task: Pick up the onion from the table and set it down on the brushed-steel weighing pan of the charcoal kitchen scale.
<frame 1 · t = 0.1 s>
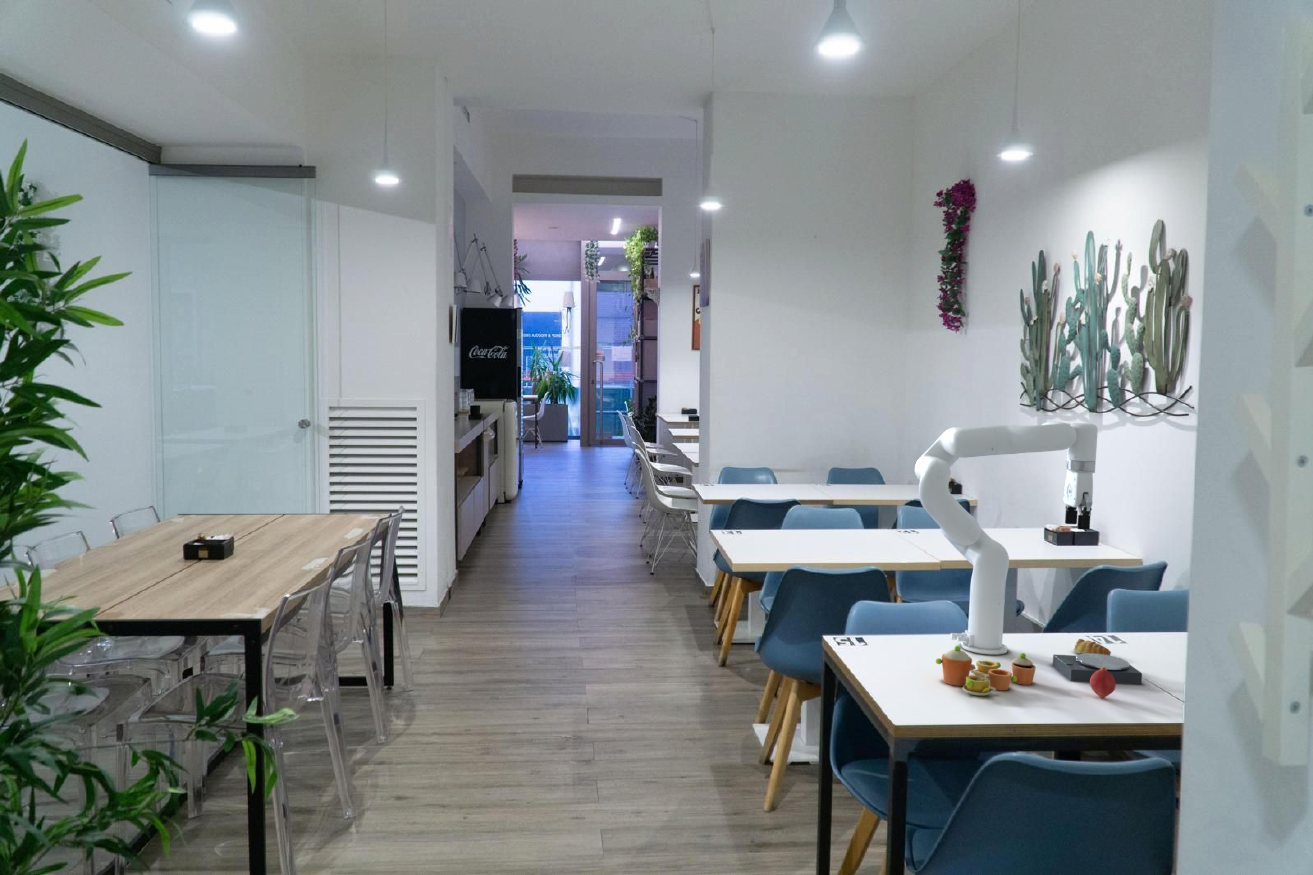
hand: (1077, 526, 282), 37 cm above the table, tool pointing down, fingers open, 9 cm apart
pastry: (1090, 655, 284), on the table
onion: (1101, 698, 245), on the table
scale pan: (1102, 661, 264), point 4 cm above the table, slide at 0.0 cm
toy tea set: (987, 684, 254), on the table
scale: (1095, 674, 265), on the table
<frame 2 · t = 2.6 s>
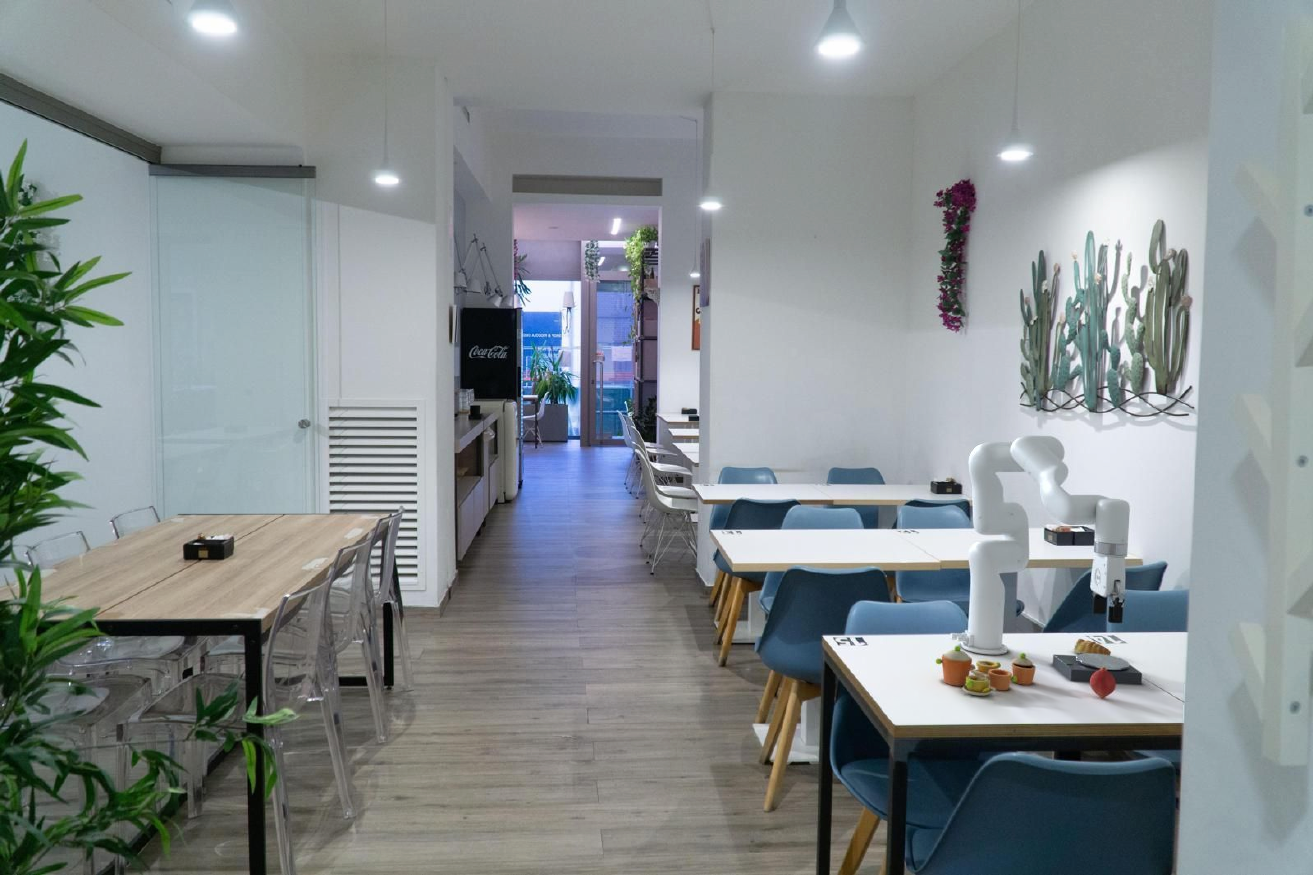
hand: (1106, 618, 245), 20 cm above the table, tool pointing down, fingers open, 9 cm apart
nothing on the table moved.
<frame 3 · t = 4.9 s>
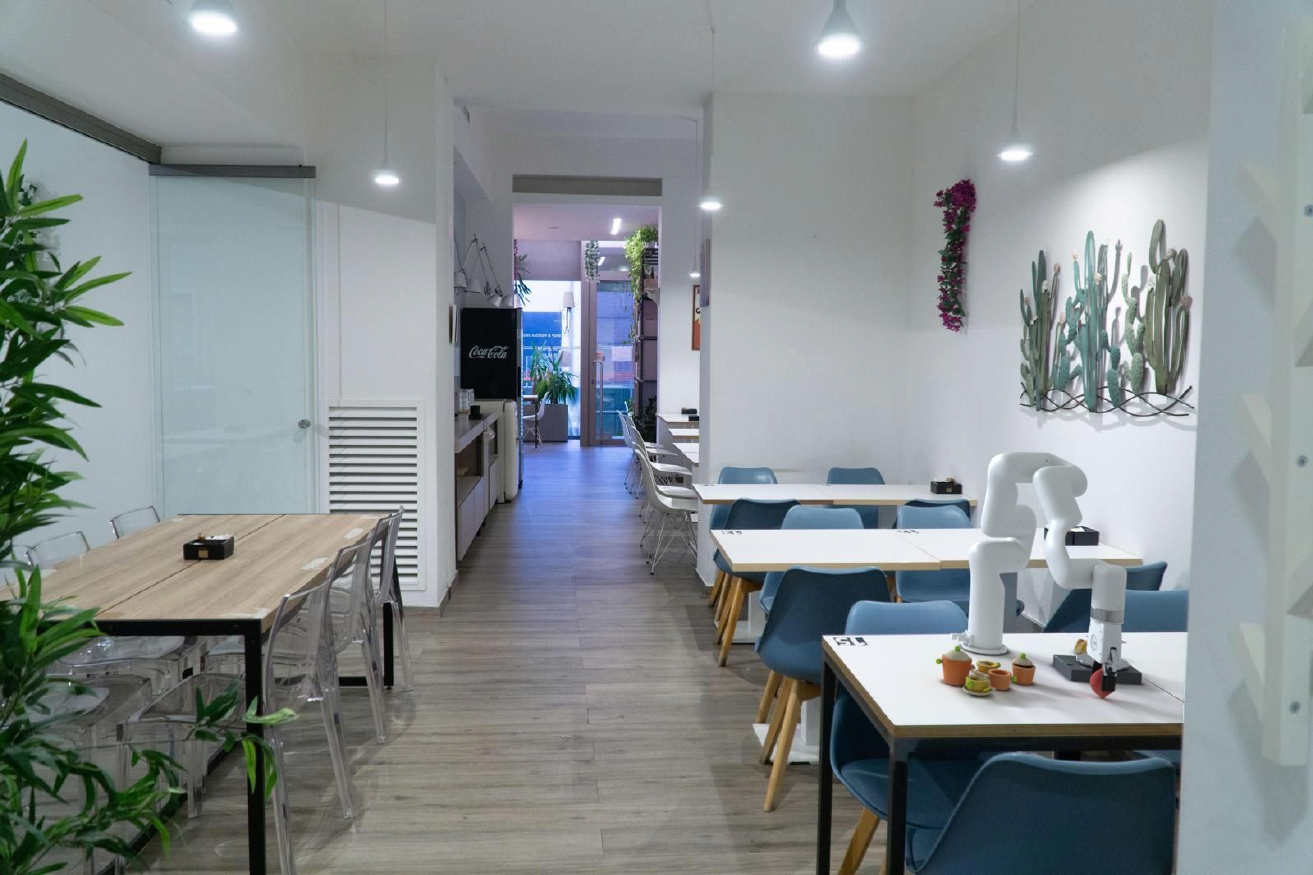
hand: (1102, 686, 245), 3 cm above the table, tool pointing down, fingers closed on onion, 6 cm apart
onion: (1101, 698, 245), on the table, touching gripper
everything else where it was.
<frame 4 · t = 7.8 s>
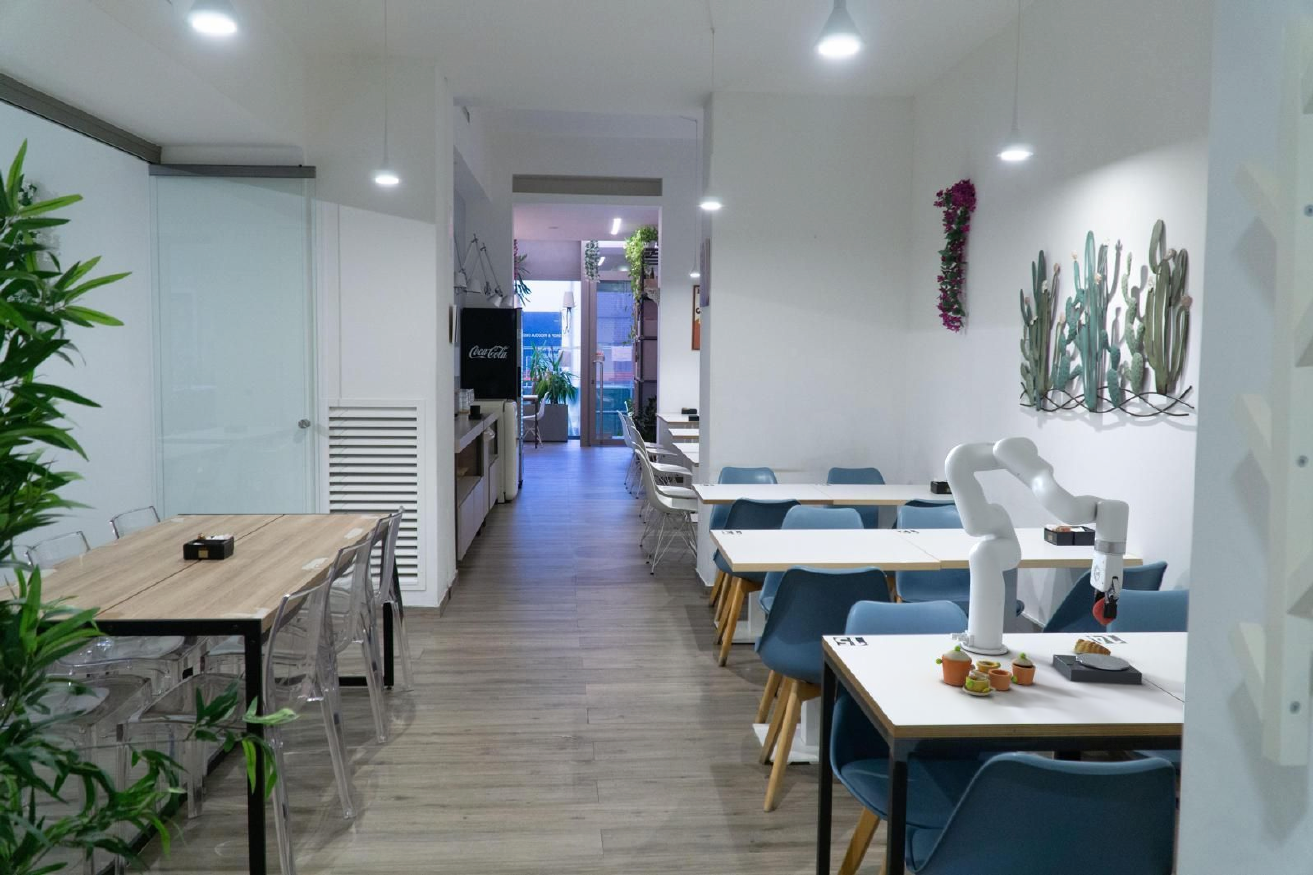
hand: (1104, 614, 260), 17 cm above the table, tool pointing down, fingers closed on onion, 6 cm apart
onion: (1103, 626, 260), point 14 cm above the table, touching gripper
everything else where it was.
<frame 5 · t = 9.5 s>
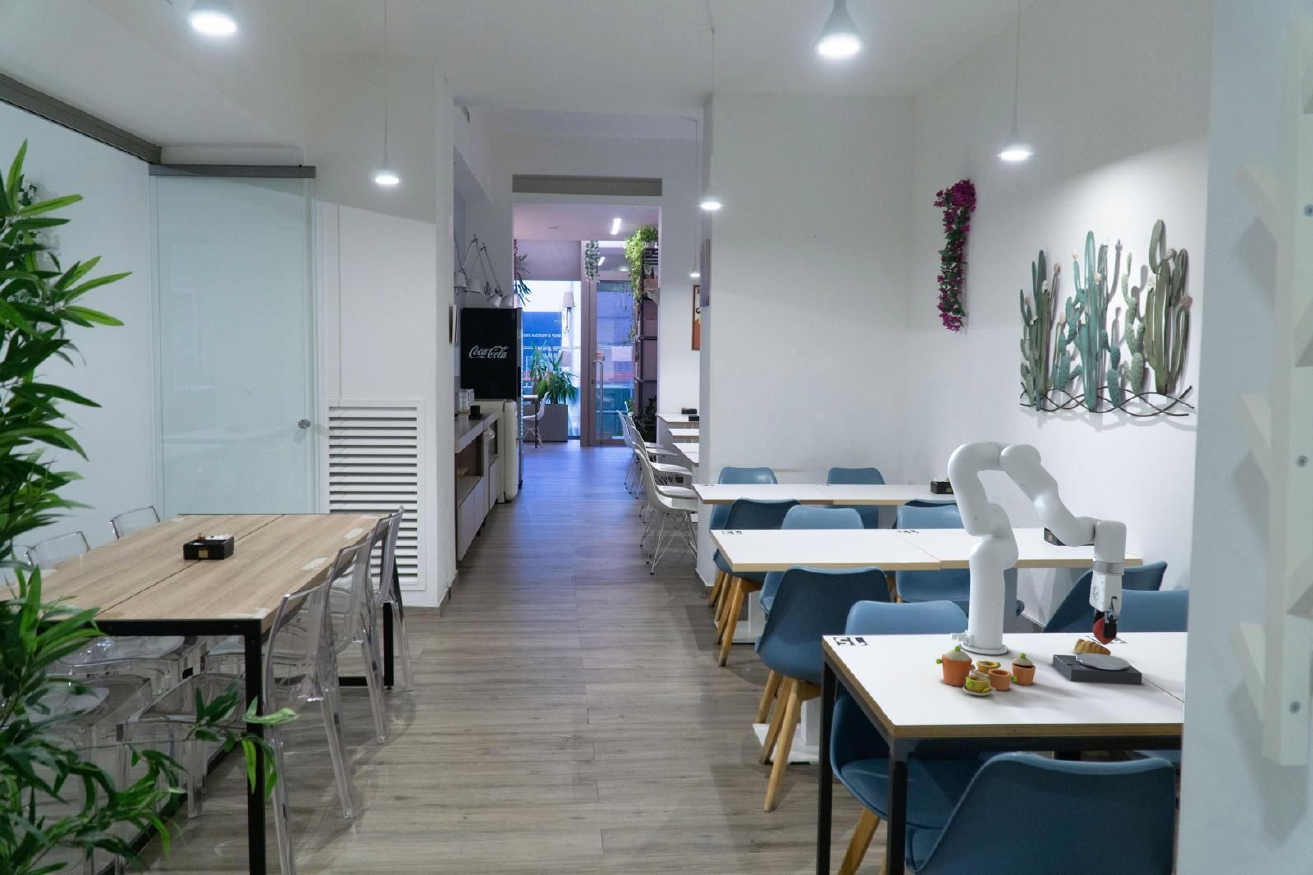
hand: (1104, 633, 264), 11 cm above the table, tool pointing down, fingers closed on onion, 6 cm apart
onion: (1103, 645, 264), point 8 cm above the table, touching gripper
everything else where it was.
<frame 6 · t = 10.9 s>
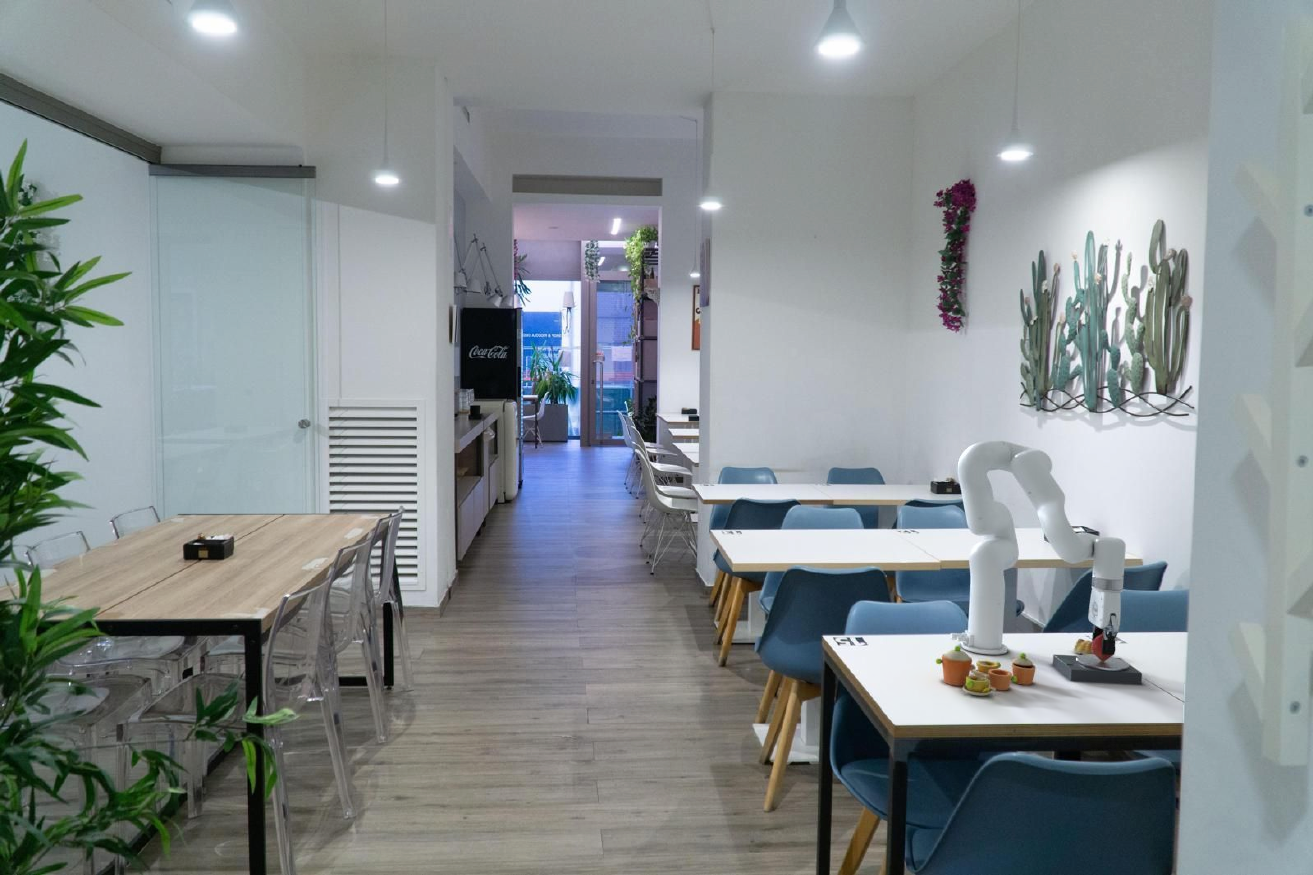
hand: (1103, 650, 264), 7 cm above the table, tool pointing down, fingers closed on onion, 5 cm apart
onion: (1102, 661, 264), point 4 cm above the table, touching gripper, scale pan
scale pan: (1102, 662, 264), point 3 cm above the table, slide at -0.2 cm, touching onion
everything else where it was.
when the fingers open (7 cm above the table, at t = 11.1 s): onion stays where it is, resting on scale pan.
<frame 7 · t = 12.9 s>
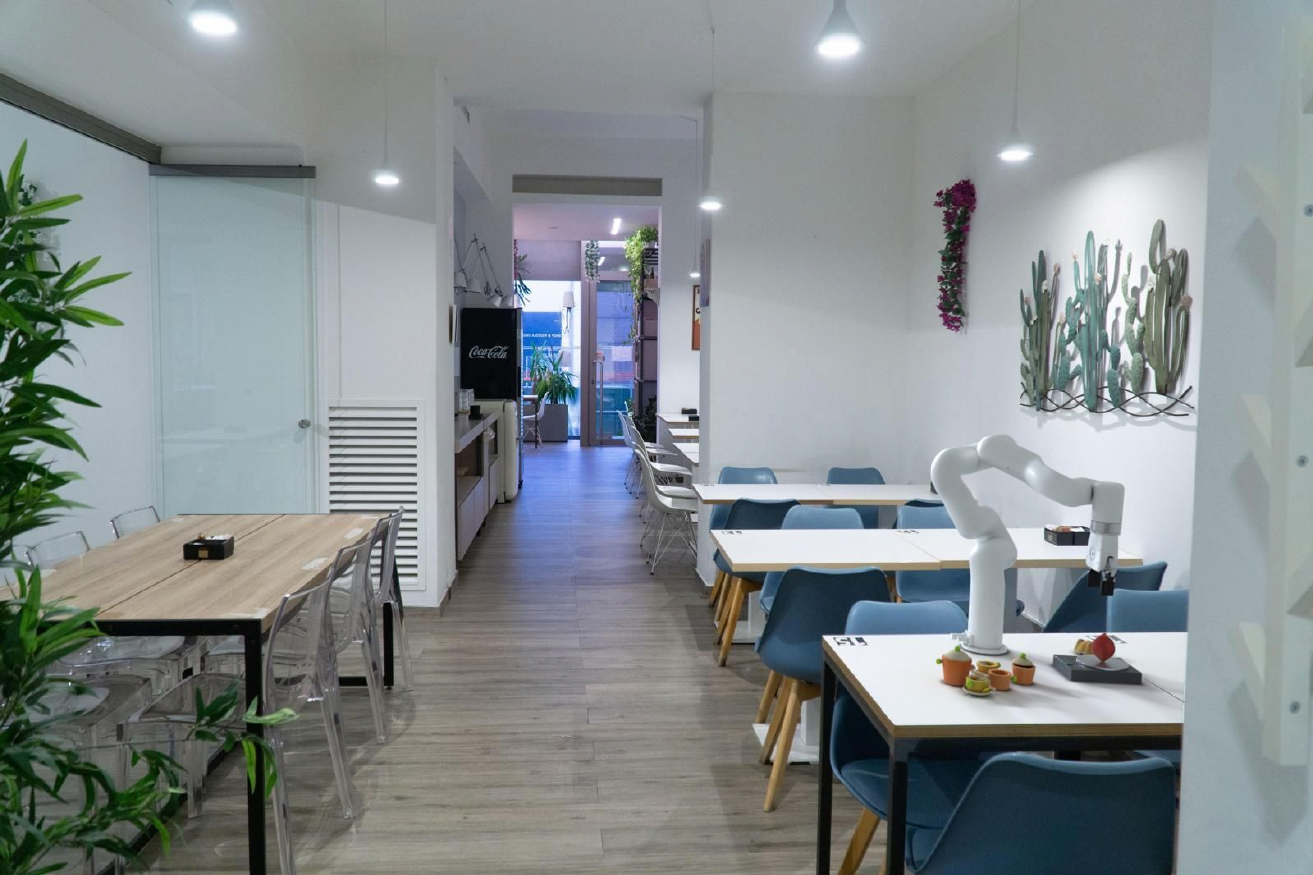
hand: (1099, 591, 265), 22 cm above the table, tool pointing down, fingers open, 9 cm apart
onion: (1102, 662, 264), point 3 cm above the table, touching scale pan
everything else where it was.
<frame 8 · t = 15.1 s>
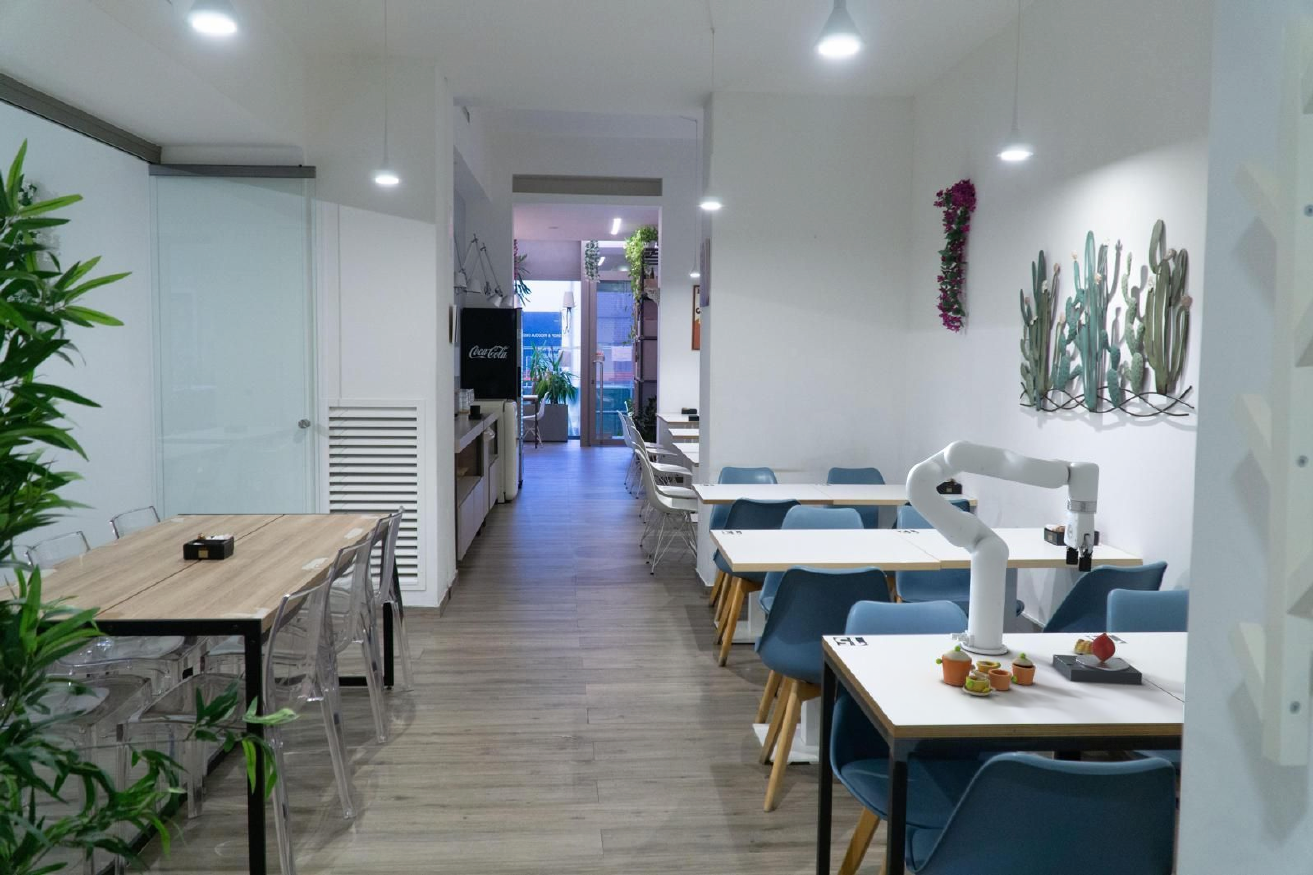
hand: (1078, 568, 275), 26 cm above the table, tool pointing down, fingers open, 9 cm apart
nothing on the table moved.
at the end: onion inside the target area on the scale (0.0 cm from its centre), point 3.4 cm above the scale's base; the gripper is holding nothing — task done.
